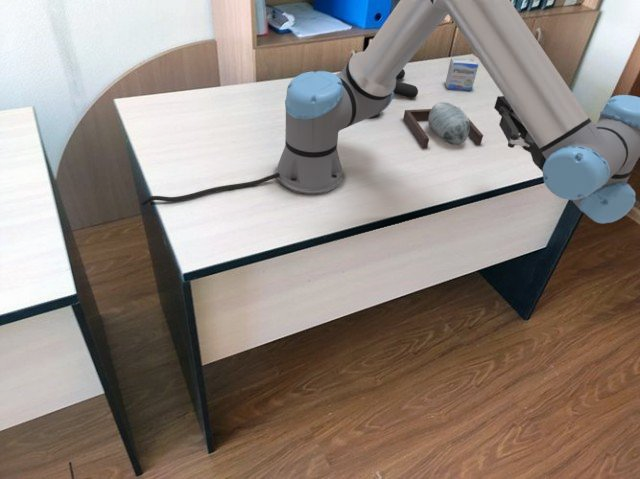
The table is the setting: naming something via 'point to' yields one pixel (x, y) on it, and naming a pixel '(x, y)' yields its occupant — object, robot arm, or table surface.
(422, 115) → the dock
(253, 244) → the table surface
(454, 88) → the medicine box
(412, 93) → the gaming controller
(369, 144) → the table surface
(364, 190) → the table surface
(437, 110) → the grey marbled egg
